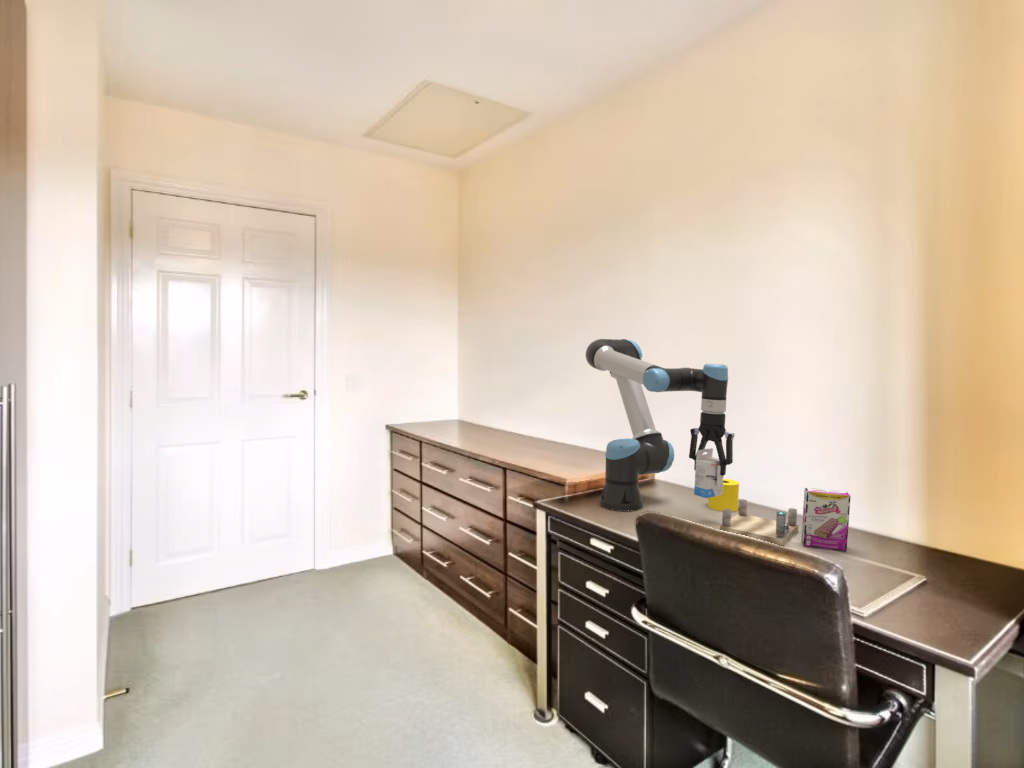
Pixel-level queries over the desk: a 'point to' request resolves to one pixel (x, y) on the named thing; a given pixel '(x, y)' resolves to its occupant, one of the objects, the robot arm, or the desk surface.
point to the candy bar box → (825, 519)
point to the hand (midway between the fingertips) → (708, 482)
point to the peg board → (757, 525)
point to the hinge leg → (781, 524)
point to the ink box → (707, 475)
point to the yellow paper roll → (726, 497)
